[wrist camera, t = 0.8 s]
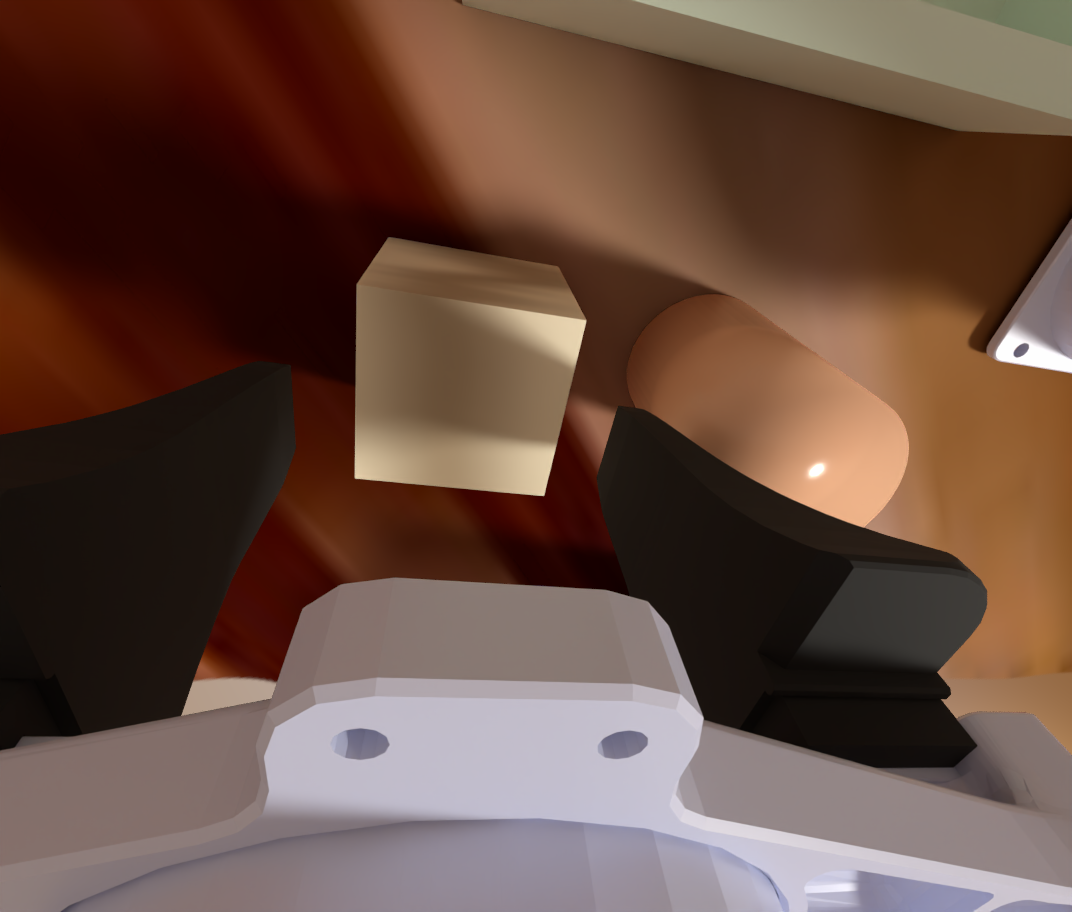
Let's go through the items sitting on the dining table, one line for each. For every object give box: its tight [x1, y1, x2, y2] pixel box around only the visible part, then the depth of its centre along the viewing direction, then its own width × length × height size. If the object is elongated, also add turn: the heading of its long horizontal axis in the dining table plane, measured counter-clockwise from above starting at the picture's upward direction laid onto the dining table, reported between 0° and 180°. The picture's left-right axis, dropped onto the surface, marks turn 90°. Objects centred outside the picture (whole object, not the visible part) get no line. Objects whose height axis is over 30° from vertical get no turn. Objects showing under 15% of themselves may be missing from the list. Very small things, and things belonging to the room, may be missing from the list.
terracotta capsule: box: [627, 294, 909, 527], centre depth 15 cm, size 5×5×7 cm
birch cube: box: [355, 237, 587, 496], centre depth 15 cm, size 5×5×5 cm
